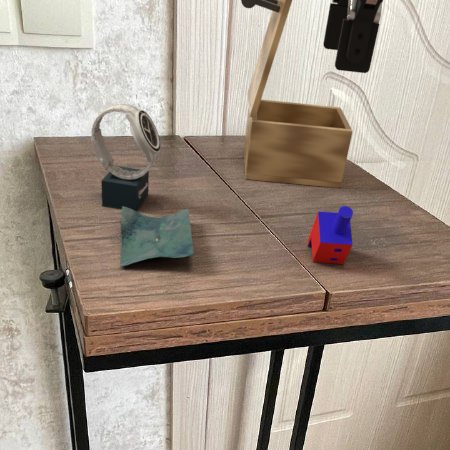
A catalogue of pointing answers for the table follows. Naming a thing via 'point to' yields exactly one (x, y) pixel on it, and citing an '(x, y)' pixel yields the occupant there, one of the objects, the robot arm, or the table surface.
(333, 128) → the case
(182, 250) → the terrain model
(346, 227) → the toy building block
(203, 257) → the table surface
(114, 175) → the watch
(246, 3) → the case lid
